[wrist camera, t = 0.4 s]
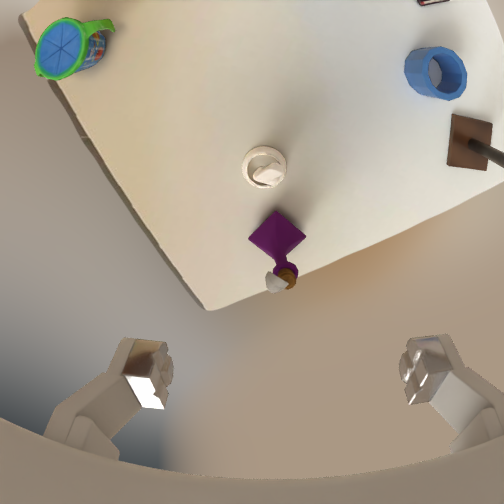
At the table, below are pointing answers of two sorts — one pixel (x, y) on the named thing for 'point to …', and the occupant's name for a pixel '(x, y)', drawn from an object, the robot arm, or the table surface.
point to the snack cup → (70, 47)
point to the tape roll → (450, 67)
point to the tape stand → (471, 144)
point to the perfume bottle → (278, 250)
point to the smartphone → (430, 2)
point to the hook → (265, 168)
